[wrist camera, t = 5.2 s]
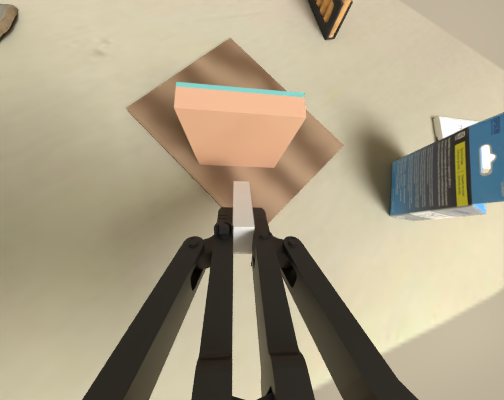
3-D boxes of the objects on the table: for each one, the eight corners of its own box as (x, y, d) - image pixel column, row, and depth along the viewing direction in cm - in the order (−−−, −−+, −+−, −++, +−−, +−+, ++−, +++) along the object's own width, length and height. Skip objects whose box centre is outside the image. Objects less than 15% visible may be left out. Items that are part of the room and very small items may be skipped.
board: (252, 238, 24) (253, 238, 23) (130, 113, 25) (126, 108, 24) (339, 148, 28) (343, 145, 27) (230, 44, 29) (230, 37, 28)
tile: (274, 167, 25) (306, 117, 14) (199, 164, 24) (174, 107, 13) (273, 152, 26) (304, 93, 15) (200, 149, 24) (176, 81, 14)
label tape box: (412, 222, 27) (555, 211, 15) (386, 216, 27) (512, 200, 15) (413, 167, 29) (541, 118, 17) (389, 161, 29) (503, 107, 17)
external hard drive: (500, 172, 32) (436, 165, 30) (491, 128, 33) (429, 120, 32) (515, 168, 30) (447, 161, 29) (504, 123, 31) (440, 114, 30)
